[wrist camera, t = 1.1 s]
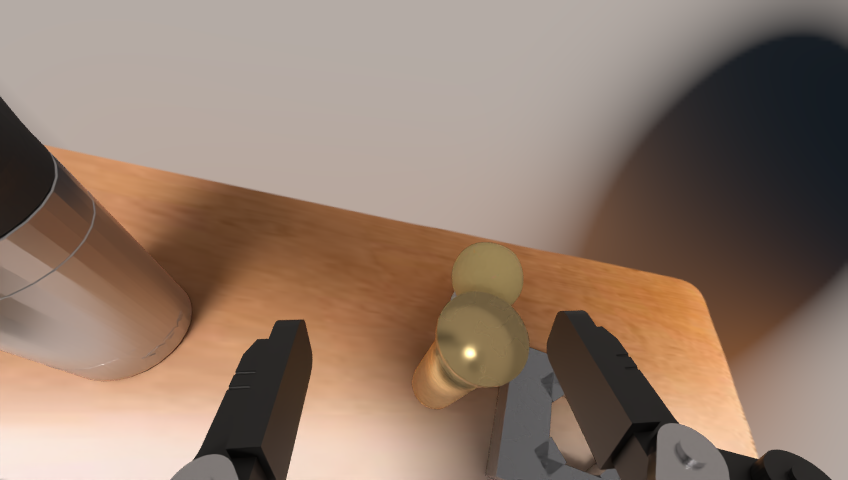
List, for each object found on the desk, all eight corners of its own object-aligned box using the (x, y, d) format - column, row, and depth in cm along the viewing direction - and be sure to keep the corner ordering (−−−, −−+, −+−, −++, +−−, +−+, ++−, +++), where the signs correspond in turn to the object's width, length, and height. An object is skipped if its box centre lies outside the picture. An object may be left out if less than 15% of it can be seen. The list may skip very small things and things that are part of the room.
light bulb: (492, 284, 38) (530, 235, 30) (495, 339, 34) (540, 300, 26) (438, 276, 37) (462, 223, 29) (435, 331, 34) (461, 289, 25)
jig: (485, 475, 27) (495, 476, 25) (505, 349, 34) (515, 342, 32) (647, 537, 27) (671, 543, 25) (636, 397, 33) (655, 393, 31)
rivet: (397, 403, 29) (424, 365, 18) (416, 344, 32) (450, 279, 21) (456, 426, 29) (523, 401, 18) (470, 364, 32) (533, 309, 21)
